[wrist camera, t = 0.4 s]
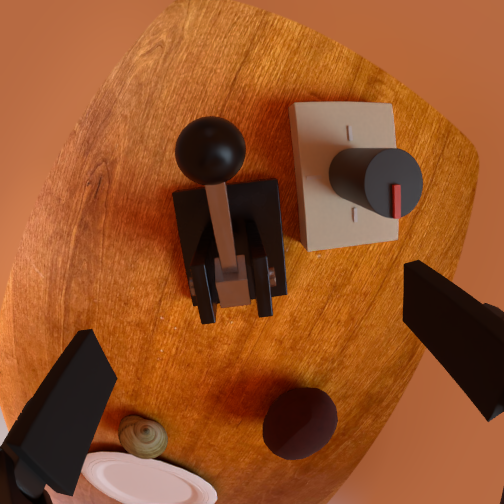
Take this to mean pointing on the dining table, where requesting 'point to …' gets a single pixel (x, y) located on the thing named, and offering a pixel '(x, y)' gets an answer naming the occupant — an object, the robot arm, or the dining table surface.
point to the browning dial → (377, 179)
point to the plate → (145, 480)
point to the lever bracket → (246, 243)
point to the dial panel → (317, 171)
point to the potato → (299, 423)
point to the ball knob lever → (217, 195)
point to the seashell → (142, 437)
